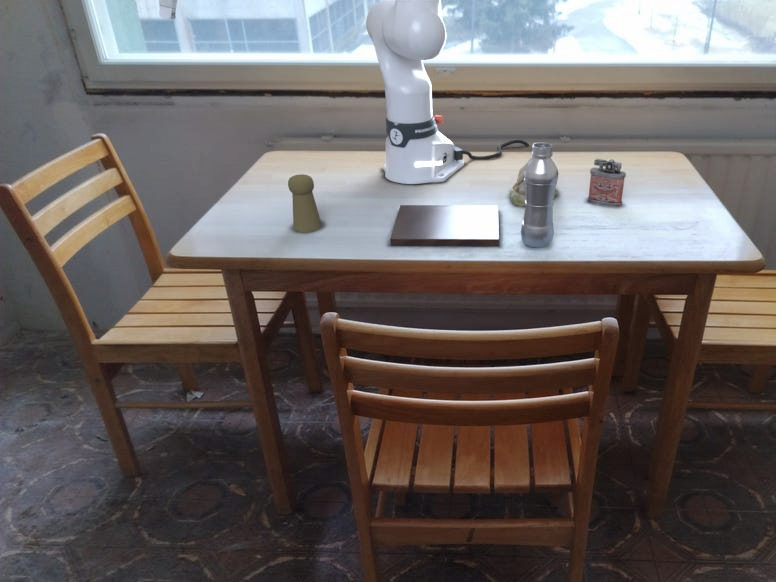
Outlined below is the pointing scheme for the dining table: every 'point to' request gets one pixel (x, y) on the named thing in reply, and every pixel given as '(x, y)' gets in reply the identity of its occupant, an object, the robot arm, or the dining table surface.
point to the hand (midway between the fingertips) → (167, 18)
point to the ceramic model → (521, 188)
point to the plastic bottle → (539, 196)
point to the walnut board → (446, 225)
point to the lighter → (606, 183)
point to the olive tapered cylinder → (304, 204)
